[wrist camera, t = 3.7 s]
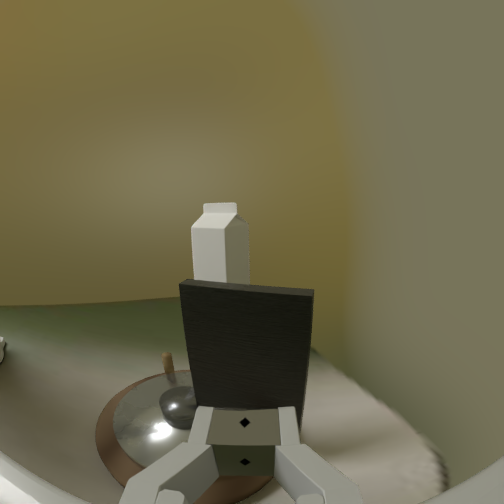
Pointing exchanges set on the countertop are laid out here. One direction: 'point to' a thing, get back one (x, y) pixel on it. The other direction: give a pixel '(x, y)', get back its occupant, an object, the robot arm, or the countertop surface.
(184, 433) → the grey finned round piece
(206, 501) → the post base
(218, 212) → the milk
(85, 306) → the countertop surface
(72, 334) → the countertop surface
